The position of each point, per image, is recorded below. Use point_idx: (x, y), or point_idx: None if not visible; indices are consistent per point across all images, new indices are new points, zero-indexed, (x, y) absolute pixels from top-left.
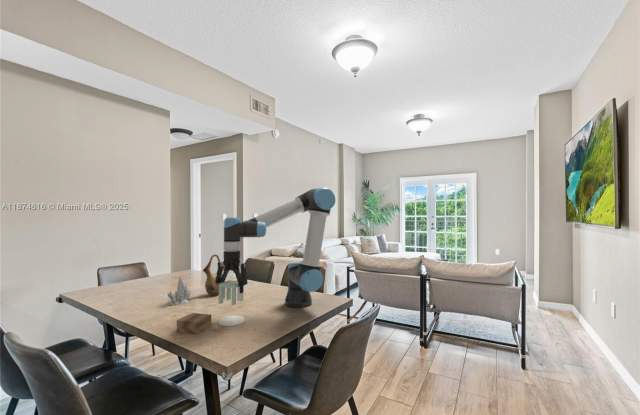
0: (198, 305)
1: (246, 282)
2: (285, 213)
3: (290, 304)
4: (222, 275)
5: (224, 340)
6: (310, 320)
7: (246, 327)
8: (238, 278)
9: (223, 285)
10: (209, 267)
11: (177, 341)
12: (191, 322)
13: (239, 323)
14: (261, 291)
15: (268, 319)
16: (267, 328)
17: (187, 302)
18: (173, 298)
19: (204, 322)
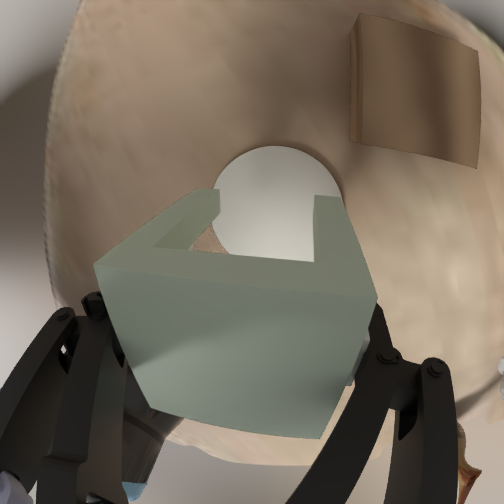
0: (473, 354)
1: (64, 345)
2: None
3: None
4: (355, 468)
5: (187, 16)
6: (51, 272)
7: (170, 160)
8: (75, 376)
9: (283, 275)
10: (462, 487)
11: None
12: (396, 22)
13: (215, 184)
14: (307, 456)
15: None
16: (98, 177)
17: (500, 362)
18: None
19: (358, 78)
